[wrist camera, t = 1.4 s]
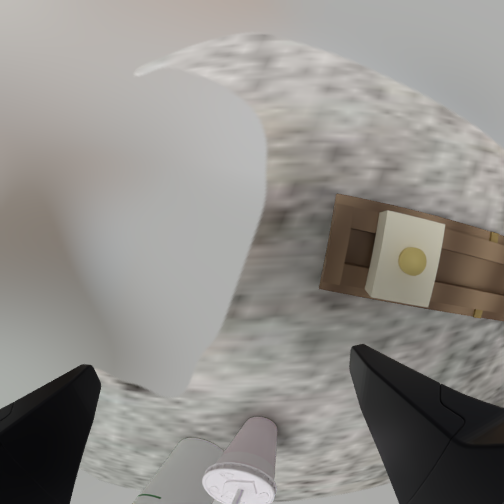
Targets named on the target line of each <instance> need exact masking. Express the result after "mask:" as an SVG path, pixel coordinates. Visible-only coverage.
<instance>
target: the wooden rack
mask: <svg viewBox="0 0 504 504" xmlns="http://www.w3.org/2000/svg"><path fill="white" fill-rule="evenodd" d="M387 210H388V211H393V212H397V213H401V214H406V215H410V216H414V217H418V218H422V219H426V220H430V221H434V222H438V223H441V224H445V230H444V237H443V243H442V248H441V254H440V259H439V264H438V269H437V273H436V278H435V282H434V286H433V290H432V294H431V298H430V302H429V306H428V307H422V306H416V305H411V304H405V303H400V302H394V301H389V300H383V299H378V298H372V297H370V296H369V294H368V293H367V292H366V290H365V285H366V281H367V276H368V272H369V267H370V262H371V258H372V253H373V247H374V242H375V236H376V231H377V225H378V219H379V213H380V212H384V211H387ZM319 289H323V290H328V291H333V292H338V293H343V294H348V295H354V296H359V297H364V298H370V299H375V300H380V301H386V302H391V303H397V304H402V305H408V306H414V307H419V308H425V309H431V310H437V311H443V312H449V313H455V314H461V315H467V316H473V317H475V318H486V319H493V320H499V321H504V236H502V235H499V234H497V233H494V232H489V231H486V230H483V229H480V228H476V227H473V226H470V225H466V224H463V223H459V222H456V221H452V220H449V219H445V218H441V217H438V216H434V215H430V214H426V213H422V212H419V211H415V210H410V209H406V208H402V207H398V206H394V205H389V204H385V203H380V202H376V201H371V200H367V199H362V198H357V197H352V196H347V195H342V194H336V198H335V204H334V211H333V217H332V222H331V228H330V234H329V239H328V245H327V250H326V255H325V260H324V265H323V270H322V275H321V280H320V285H319Z"/></svg>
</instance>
